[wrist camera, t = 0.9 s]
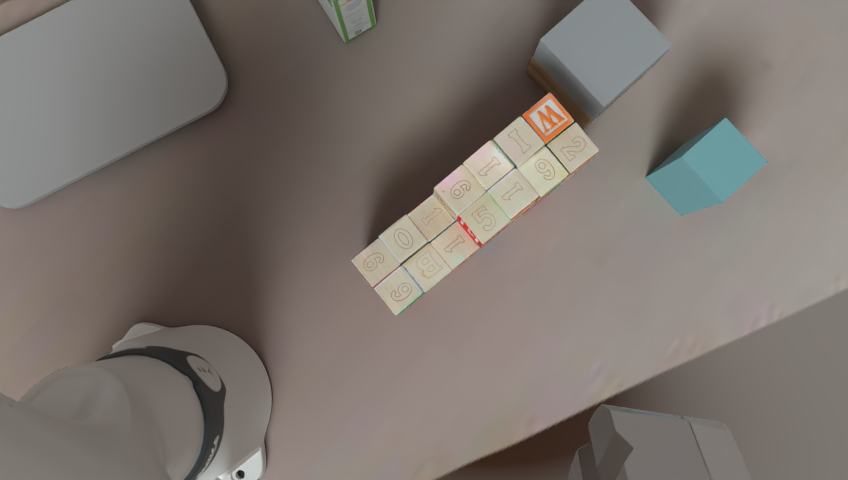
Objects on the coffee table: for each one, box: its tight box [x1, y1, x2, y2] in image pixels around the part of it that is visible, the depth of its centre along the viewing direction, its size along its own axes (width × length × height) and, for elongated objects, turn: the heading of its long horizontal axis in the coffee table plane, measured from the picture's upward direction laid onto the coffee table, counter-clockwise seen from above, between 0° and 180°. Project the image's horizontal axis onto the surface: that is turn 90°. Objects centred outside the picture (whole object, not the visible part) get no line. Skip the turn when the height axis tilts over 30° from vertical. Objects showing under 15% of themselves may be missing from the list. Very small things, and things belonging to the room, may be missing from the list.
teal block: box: [645, 118, 768, 216], centre depth 62 cm, size 5×5×10 cm
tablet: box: [0, 0, 228, 209], centre depth 68 cm, size 16×26×2 cm, turn 117°
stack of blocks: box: [351, 93, 599, 316], centre depth 61 cm, size 21×6×12 cm, turn 129°
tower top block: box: [533, 0, 673, 120], centre depth 61 cm, size 8×8×4 cm
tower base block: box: [526, 55, 642, 130], centre depth 66 cm, size 8×8×4 cm
